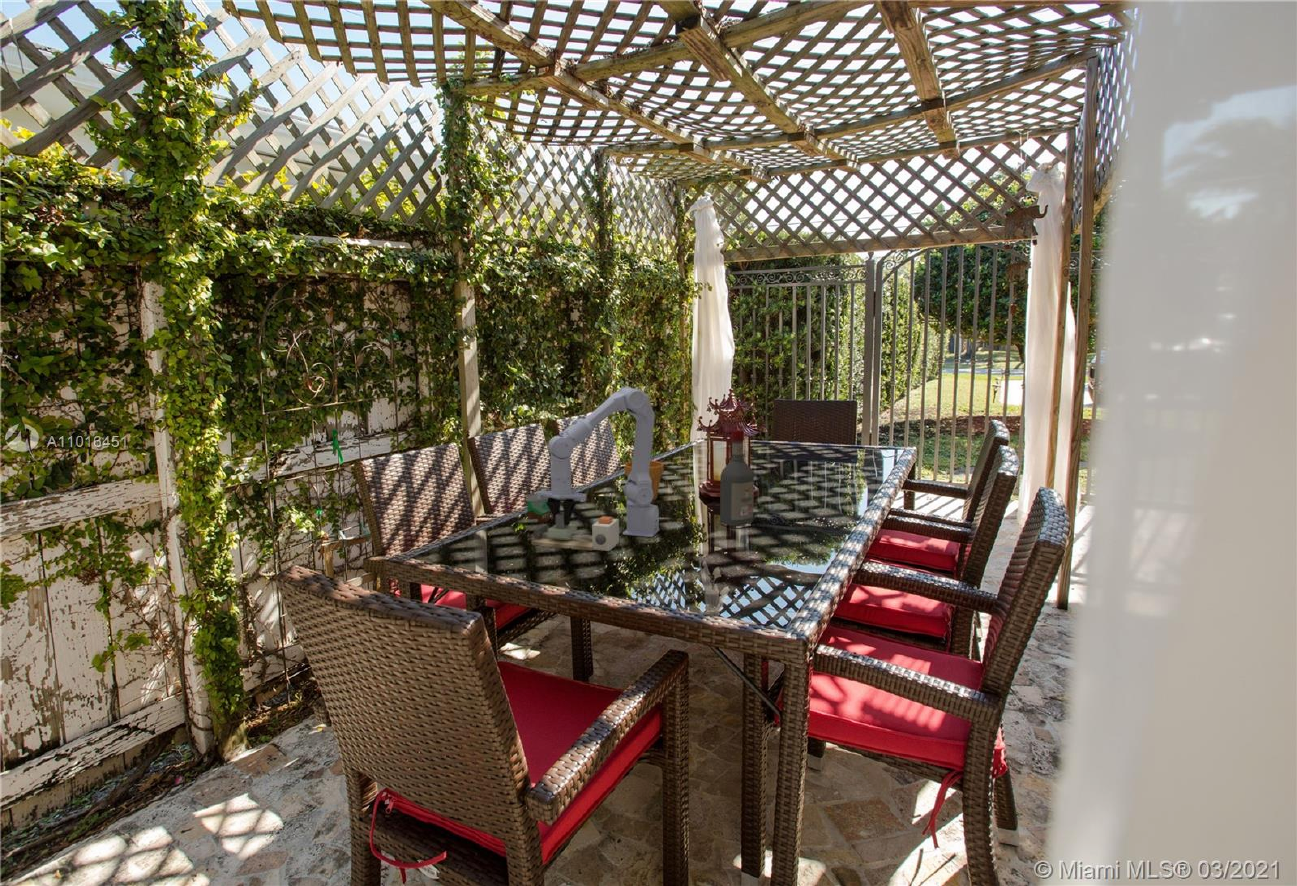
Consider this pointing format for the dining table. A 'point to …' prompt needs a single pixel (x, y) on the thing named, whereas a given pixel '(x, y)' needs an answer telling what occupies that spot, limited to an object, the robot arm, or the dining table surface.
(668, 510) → the dining table surface
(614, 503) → the dining table surface
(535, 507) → the food container
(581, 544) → the rail bed
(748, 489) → the liquor
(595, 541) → the end cabinet
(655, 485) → the flower pot
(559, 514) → the carriage
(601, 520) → the button
